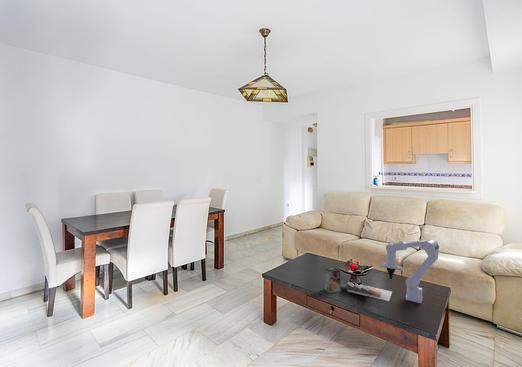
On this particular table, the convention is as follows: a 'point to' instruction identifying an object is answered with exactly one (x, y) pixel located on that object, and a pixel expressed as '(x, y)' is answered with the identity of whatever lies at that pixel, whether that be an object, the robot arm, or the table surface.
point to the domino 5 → (374, 291)
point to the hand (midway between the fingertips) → (391, 278)
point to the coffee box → (332, 280)
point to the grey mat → (384, 295)
